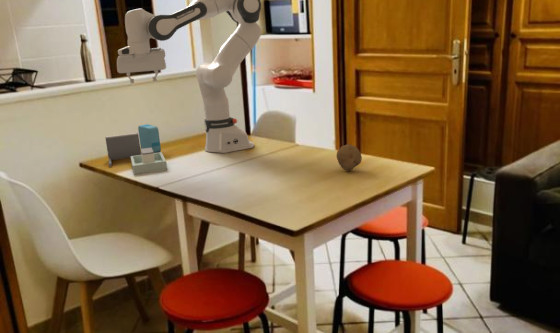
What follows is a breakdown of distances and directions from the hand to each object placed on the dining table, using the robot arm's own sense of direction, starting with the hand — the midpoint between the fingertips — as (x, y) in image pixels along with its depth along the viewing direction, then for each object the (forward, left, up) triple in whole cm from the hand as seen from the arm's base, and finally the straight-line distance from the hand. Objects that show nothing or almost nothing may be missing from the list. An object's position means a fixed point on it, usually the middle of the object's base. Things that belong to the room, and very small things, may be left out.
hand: (143, 82), depth 222 cm
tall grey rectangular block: (+3, +16, -32) cm, 36 cm away
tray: (+3, +16, -33) cm, 37 cm away
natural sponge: (-65, +64, -33) cm, 97 cm away
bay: (+12, +1, -33) cm, 35 cm away
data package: (0, -12, -33) cm, 36 cm away
